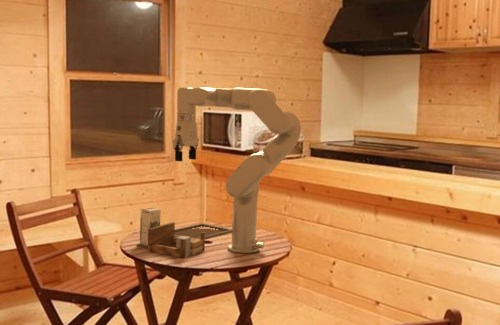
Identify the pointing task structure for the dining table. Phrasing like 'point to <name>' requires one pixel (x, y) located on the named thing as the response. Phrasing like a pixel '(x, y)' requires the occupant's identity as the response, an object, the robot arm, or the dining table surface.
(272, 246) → the dining table surface
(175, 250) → the brown wooden open box
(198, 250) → the offcut slab
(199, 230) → the brown framed board
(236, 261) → the dining table surface
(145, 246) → the mat
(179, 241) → the offcut block
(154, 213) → the syrup box
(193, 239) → the offcut slab
